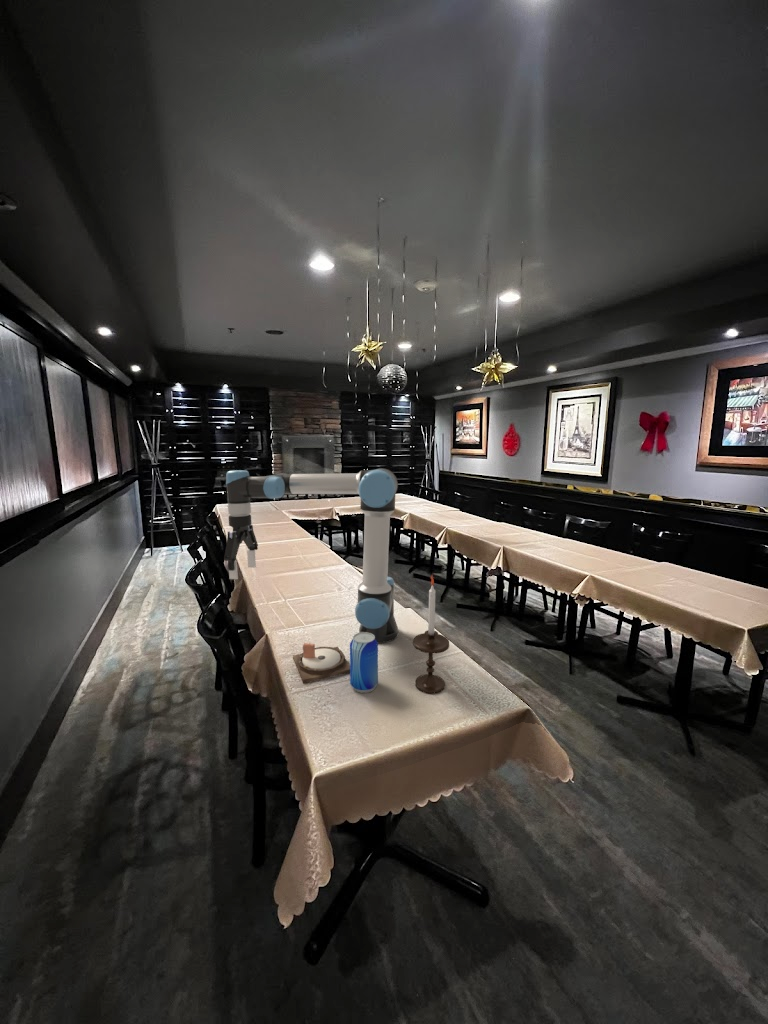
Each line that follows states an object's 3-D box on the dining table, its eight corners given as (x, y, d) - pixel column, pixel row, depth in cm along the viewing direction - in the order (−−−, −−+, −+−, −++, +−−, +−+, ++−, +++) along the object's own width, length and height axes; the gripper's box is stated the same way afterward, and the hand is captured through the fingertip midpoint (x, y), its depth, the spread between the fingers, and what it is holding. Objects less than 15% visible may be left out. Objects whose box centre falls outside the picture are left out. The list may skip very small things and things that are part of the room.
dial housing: (337, 649, 145) (337, 642, 144) (352, 672, 130) (352, 664, 130) (292, 658, 138) (292, 650, 138) (302, 683, 124) (302, 674, 123)
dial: (344, 652, 140) (343, 637, 139) (335, 672, 127) (335, 656, 126) (308, 650, 141) (308, 635, 140) (297, 670, 129) (296, 653, 128)
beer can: (367, 697, 117) (367, 646, 114) (344, 688, 121) (344, 639, 119) (383, 683, 124) (383, 635, 122) (360, 675, 128) (360, 628, 126)
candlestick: (411, 674, 129) (413, 569, 123) (445, 675, 129) (448, 570, 123) (413, 695, 118) (414, 581, 113) (450, 696, 118) (453, 581, 112)
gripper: (246, 509, 154) (249, 562, 157) (209, 520, 130) (214, 583, 133) (265, 509, 153) (267, 563, 156) (231, 521, 129) (235, 584, 132)
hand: (243, 572), depth 145 cm, fingers open, 13 cm apart
